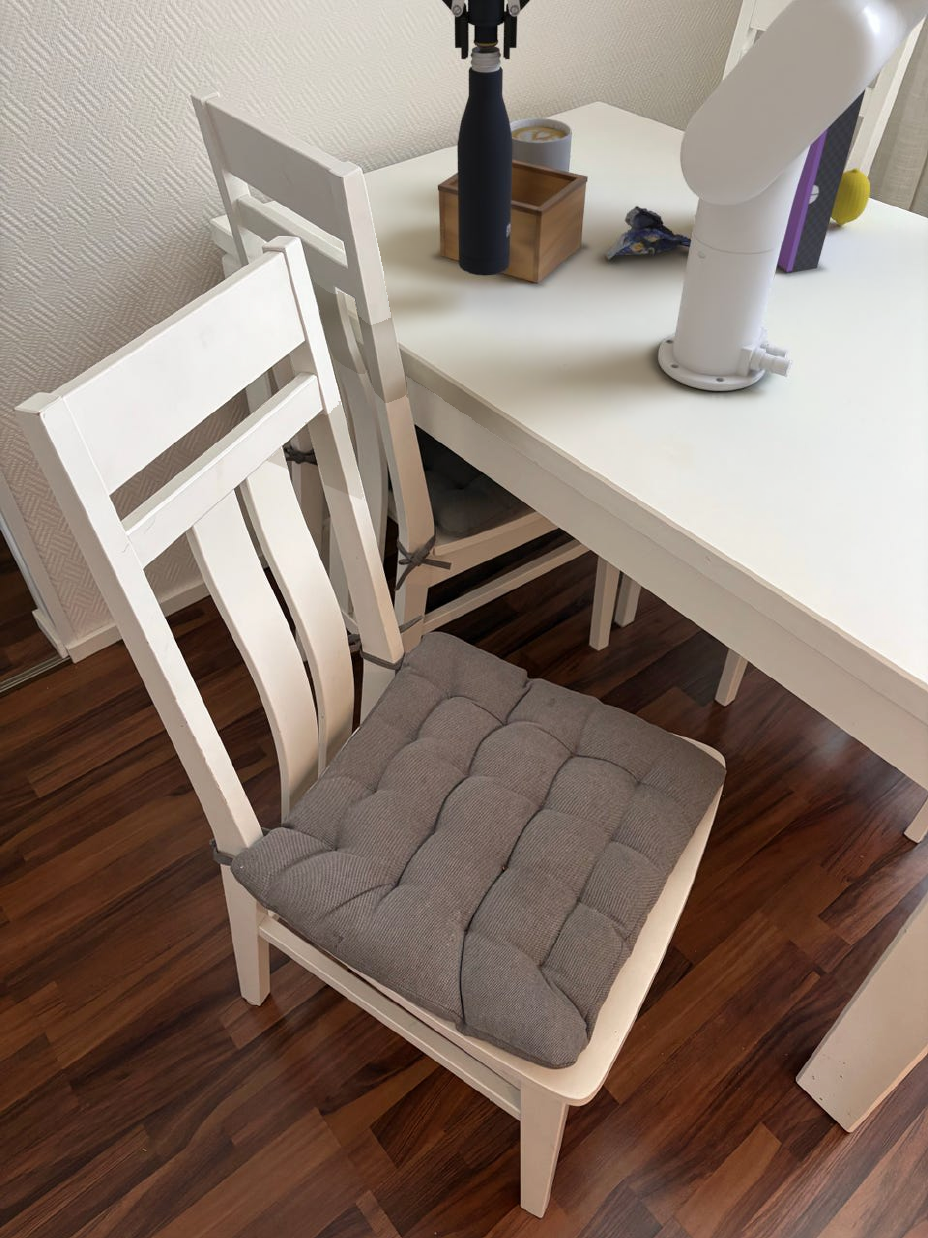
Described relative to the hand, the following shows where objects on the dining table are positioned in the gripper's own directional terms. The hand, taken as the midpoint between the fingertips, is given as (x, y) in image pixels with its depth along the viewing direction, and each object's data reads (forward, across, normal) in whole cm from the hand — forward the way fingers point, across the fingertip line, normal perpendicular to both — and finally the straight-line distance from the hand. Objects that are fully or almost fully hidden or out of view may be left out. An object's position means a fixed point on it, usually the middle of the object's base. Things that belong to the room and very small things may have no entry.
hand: (485, 53), depth 102 cm
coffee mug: (+29, +5, +32) cm, 43 cm away
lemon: (+29, +52, +23) cm, 64 cm away
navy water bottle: (+24, 0, 0) cm, 24 cm away
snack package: (+29, +22, +15) cm, 39 cm away
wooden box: (+29, +4, +14) cm, 32 cm away
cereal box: (+29, +40, +17) cm, 52 cm away
